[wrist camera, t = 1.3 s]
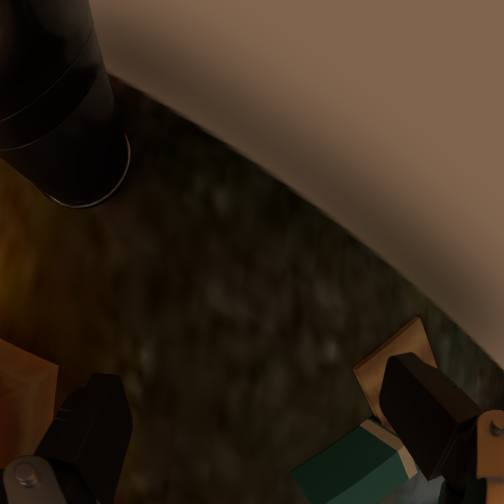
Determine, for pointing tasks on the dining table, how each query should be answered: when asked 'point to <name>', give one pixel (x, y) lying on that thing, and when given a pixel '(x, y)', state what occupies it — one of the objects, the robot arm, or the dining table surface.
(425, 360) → the cork mat
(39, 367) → the bread
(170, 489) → the dining table surface
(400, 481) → the carton
